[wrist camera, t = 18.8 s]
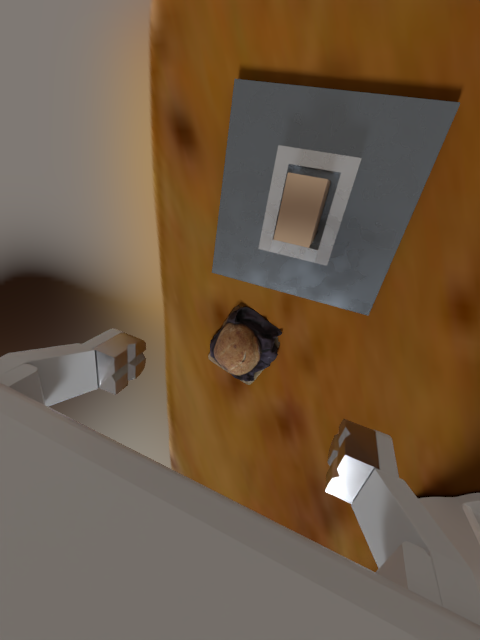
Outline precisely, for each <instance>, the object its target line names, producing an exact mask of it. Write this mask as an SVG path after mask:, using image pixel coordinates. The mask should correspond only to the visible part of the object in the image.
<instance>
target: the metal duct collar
mask: <svg viewBox="0 0 480 640" xmlns="http://www.w3.org/2000/svg"><path fill="white" fill-rule="evenodd" d="M459 105H460V102H450V101H441V100H431V99H422V98H412V97H403V96H393V95H384V94H374V93H365V92H356V91H346V90H337V89H327V88H318V87H308V86H299V85H289V84H280V83H270V82H261V81H251V80H242V79H235V82H234V90H233V98H232V107H231V115H230V124H229V132H228V141H227V149H226V158H225V166H224V175H223V183H222V192H221V200H220V209H219V217H218V226H217V234H216V243H215V251H214V260H213V268H212V273H216V274H220V275H223V276H227V277H231V278H234V279H238V280H241V281H245V282H249V283H252V284H256V285H260V286H263V287H267V288H270V289H274V290H278V291H281V292H285V293H288V294H292V295H296V296H299V297H303V298H307V299H310V300H314V301H317V302H321V303H325V304H328V305H332V306H336V307H339V308H343V309H346V310H350V311H354V312H357V313H361V314H365V315H369V312H370V310H371V308H372V305H373V303H374V301H375V299H376V296H377V294H378V292H379V289H380V287H381V285H382V282H383V280H384V278H385V275H386V273H387V271H388V269H389V266H390V264H391V262H392V259H393V257H394V255H395V252H396V250H397V248H398V246H399V243H400V241H401V239H402V236H403V234H404V232H405V229H406V227H407V225H408V222H409V220H410V218H411V216H412V213H413V211H414V209H415V206H416V204H417V202H418V199H419V197H420V195H421V193H422V190H423V188H424V186H425V183H426V181H427V179H428V176H429V174H430V172H431V169H432V167H433V165H434V163H435V160H436V158H437V156H438V153H439V151H440V149H441V146H442V144H443V142H444V139H445V137H446V135H447V133H448V130H449V128H450V126H451V123H452V121H453V119H454V116H455V114H456V112H457V110H458V107H459ZM288 172H289V173H295V174H300V175H306V176H312V177H317V178H323V179H328V180H330V181H331V185H330V188H329V192H328V195H327V199H326V202H325V206H324V209H323V213H322V216H321V220H320V223H319V227H318V230H317V234H316V237H315V239H314V240H313V242H312V244H311V245H310V247H309V248H307V247H303V246H299V245H294V244H290V243H286V242H282V241H277V240H273V239H274V235H275V230H276V225H277V221H278V216H279V211H280V207H281V202H282V197H283V193H284V188H285V183H286V179H287V174H288Z"/></svg>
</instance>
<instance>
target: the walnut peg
mask: <svg viewBox="0 0 480 640" xmlns="http://www.w3.org/2000/svg"><path fill="white" fill-rule="evenodd" d="M330 185H331V181H330V180H328V179H323V178H317V177H312V176H306V175H300V174H295V173H289V172H288V174H287V179H286V183H285V188H284V193H283V197H282V202H281V207H280V211H279V216H278V221H277V225H276V230H275V235H274V239H273V240H277V241H282V242H286V243H290V244H294V245H299V246H303V247H307V248H309V247H310V245H311V244H312V242H313V240H314V239H315V237H316V234H317V230H318V227H319V223H320V220H321V216H322V213H323V209H324V206H325V202H326V199H327V195H328V192H329V188H330Z"/></svg>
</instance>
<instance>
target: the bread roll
mask: <svg viewBox="0 0 480 640" xmlns="http://www.w3.org/2000/svg"><path fill="white" fill-rule="evenodd" d="M281 334H282V332H281V330H280V329H278V328H277V327H276V326H274V325H272V324H271V323H270V322H269V321H267V320H266V319H264V318H263V317H262V316H261V315H260V314H258V313H257V312H256V311H254V310H253V309H250V308H248V307H241V308H240V306H239V305H238V306H237V307H235V308H234V310H233V311H232V312H231V314H230V315H229V316H228V318H227V320H226V321H225V322H224V324H223V326H222V328H221V330H220V331H219V332H218V333H216V335H215V336H214V338H213V339H212V340H211V343H210V354H209V355H208V357H209V360H210V361H212V362H213V363H215V364H217V365H218V366H219V367H221V368H222V369H224V370H226V371H227V372H229V373H230V374H232V375H233V376H234V377H235V378H237V379H239V380H241V381H243V382H244V383H246V384H248V385H250V384H251V383H252V382H253V381H254V380H255V379H256V378H257V377H258V376H259V374H260V373H261V372H262V371H263V370H264V369H265V368H267V367H269V366H270V363H271V362H272V361H274V360H275V358H276V357H277V355H278V354H277V349H278V347H279V344H280V343H279V342H278V337H277V336H279V335H281Z"/></svg>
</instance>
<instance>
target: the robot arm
mask: <svg viewBox="0 0 480 640" xmlns="http://www.w3.org/2000/svg"><path fill="white" fill-rule="evenodd" d="M145 350H146V343H145V342H144V341H143V340H141V339H139V338H136V337H134V336H132V335H129V334H127V333H125V332H121V331H119V330H117V329H110V330H107V331H106V332H104V333H102V334H100V335H98V336H96V337H94V338H92V339H91V340H89V341H87V342H85V343H83V344H79V343H77V344H70V345H63V346H56V347H49V348H42V349H35V350H28V351H21V352H15V353H8V354H6V355H4V356H2V357H0V640H480V493H472V494H467V495H462V496H458V497H424V498H417V497H416V496H415V494H414V493H413V492H412V490H411V489H410V488H409V486H408V485H407V484H406V482H405V481H404V480H402V479H400V478H399V475H398V469H397V464H396V459H395V453H394V448H393V442H392V438H391V437H390V435H387V434H384V433H381V432H379V431H376V430H372V429H370V428H367V427H364V426H362V425H359V424H357V423H354V422H351V421H349V420H346V419H343V420H342V422H341V424H340V426H339V434H337V435H335V436H334V438H333V440H332V443H331V446H330V449H329V454H328V464H329V466H330V468H329V470H328V472H327V475H326V488H325V491H326V492H328V493H330V494H332V495H334V496H336V497H338V498H340V499H342V500H344V501H346V502H348V503H350V504H352V505H351V506H352V508H353V511H354V513H355V515H356V518H357V520H358V522H359V525H360V527H361V529H362V531H363V534H364V536H365V538H366V541H367V543H368V545H369V547H370V550H371V552H372V554H373V557H374V559H375V561H376V563H377V566H378V568H379V569H378V570H377V572H376V573H375V572H373V571H371V570H369V569H367V568H365V567H363V566H361V565H359V564H357V563H355V562H353V561H351V560H349V559H347V558H345V557H343V556H341V555H339V554H337V553H336V552H334V551H332V550H330V549H328V548H326V547H324V546H322V545H320V544H318V543H316V542H314V541H312V540H310V539H308V538H306V537H304V536H302V535H300V534H298V533H296V532H294V531H292V530H290V529H288V528H286V527H284V526H282V525H280V524H278V523H276V522H274V521H272V520H270V519H268V518H266V517H265V516H263V515H261V514H259V513H257V512H255V511H253V510H251V509H249V508H247V507H245V506H243V505H241V504H239V503H237V502H235V501H233V500H231V499H229V498H227V497H225V496H223V495H221V494H219V493H217V492H215V491H213V490H211V489H209V488H207V487H205V486H203V485H201V484H199V483H197V482H195V481H194V480H192V479H190V478H188V477H186V476H184V475H182V474H180V473H178V472H176V471H174V470H172V469H170V468H168V467H166V466H164V465H162V464H160V463H158V462H156V461H154V460H152V459H150V458H148V457H146V456H144V455H142V454H140V453H138V452H136V451H134V450H132V449H130V448H128V447H126V446H124V445H122V444H120V443H118V442H116V441H115V440H113V439H111V438H109V437H107V436H105V435H103V434H101V433H99V432H97V431H95V430H93V429H91V428H89V427H87V426H85V425H83V424H81V423H79V422H77V421H75V420H73V419H71V418H69V417H67V416H65V415H63V414H61V413H59V412H57V411H55V410H54V409H52V408H50V407H48V406H50V405H53V404H56V403H59V402H61V401H64V400H67V399H70V398H73V397H76V396H78V395H81V394H84V393H87V392H90V391H92V390H95V389H97V388H100V389H102V390H105V391H107V392H110V393H112V394H114V395H116V394H118V393H119V392H120V391H121V390H122V389H124V388H125V387H126V386H127V385H128V381H129V380H133V379H136V378H137V377H138V376H139V375H140V374H141V372H142V371H143V369H144V367H145V361H146V358H145V356H144V354H143V352H144V351H145Z"/></svg>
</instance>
